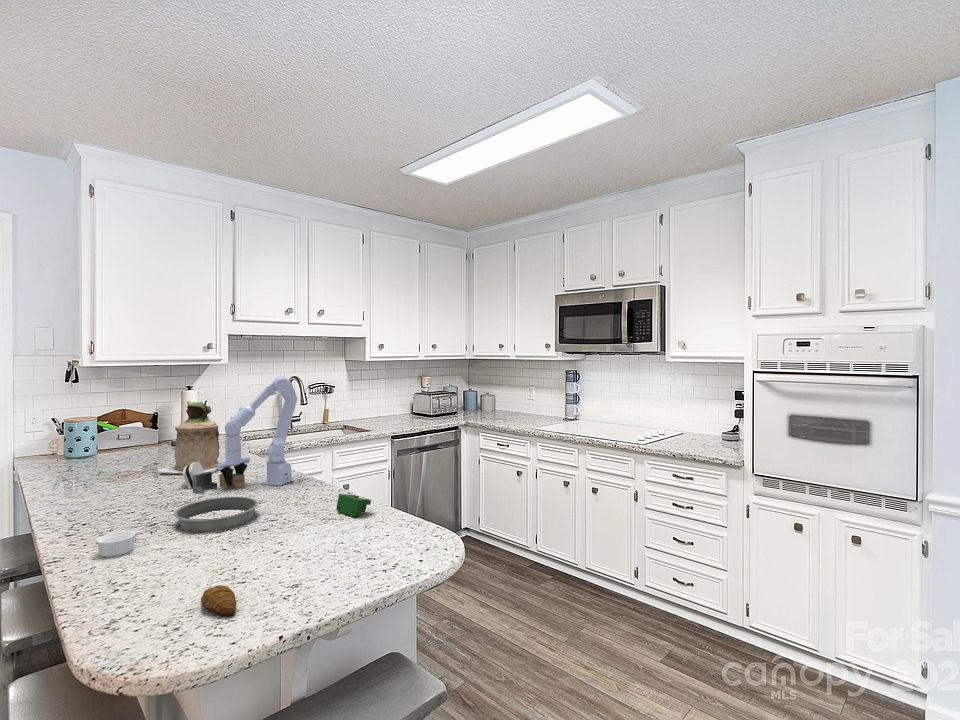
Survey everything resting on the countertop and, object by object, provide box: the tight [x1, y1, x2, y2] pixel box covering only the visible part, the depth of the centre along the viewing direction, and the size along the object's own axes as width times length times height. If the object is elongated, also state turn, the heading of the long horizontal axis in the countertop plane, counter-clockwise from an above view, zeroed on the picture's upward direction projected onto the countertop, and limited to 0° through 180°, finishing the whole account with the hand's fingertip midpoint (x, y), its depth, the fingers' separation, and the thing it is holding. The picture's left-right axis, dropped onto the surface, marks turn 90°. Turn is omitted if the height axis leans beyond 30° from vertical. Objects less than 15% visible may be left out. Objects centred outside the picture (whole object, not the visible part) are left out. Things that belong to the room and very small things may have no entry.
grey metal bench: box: [192, 472, 218, 495], centre depth 207 cm, size 5×7×6 cm
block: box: [218, 473, 246, 490], centre depth 212 cm, size 10×4×5 cm, turn 66°
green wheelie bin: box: [336, 493, 372, 518], centre depth 178 cm, size 12×6×9 cm, turn 43°
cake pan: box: [173, 496, 259, 532], centre depth 172 cm, size 25×25×4 cm
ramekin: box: [96, 530, 136, 558], centre depth 146 cm, size 9×9×4 cm
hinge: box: [182, 462, 205, 490], centre depth 218 cm, size 17×5×10 cm, turn 17°
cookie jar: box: [157, 400, 226, 475], centre depth 245 cm, size 25×25×32 cm
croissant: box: [200, 585, 237, 618], centre depth 114 cm, size 14×7×5 cm, turn 47°
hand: (233, 483), depth 212 cm, fingers open, 4 cm apart
